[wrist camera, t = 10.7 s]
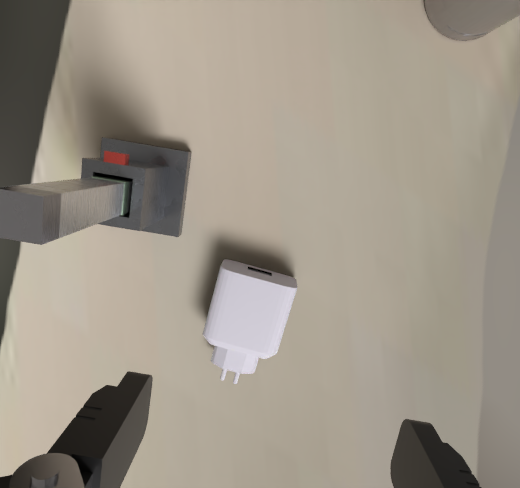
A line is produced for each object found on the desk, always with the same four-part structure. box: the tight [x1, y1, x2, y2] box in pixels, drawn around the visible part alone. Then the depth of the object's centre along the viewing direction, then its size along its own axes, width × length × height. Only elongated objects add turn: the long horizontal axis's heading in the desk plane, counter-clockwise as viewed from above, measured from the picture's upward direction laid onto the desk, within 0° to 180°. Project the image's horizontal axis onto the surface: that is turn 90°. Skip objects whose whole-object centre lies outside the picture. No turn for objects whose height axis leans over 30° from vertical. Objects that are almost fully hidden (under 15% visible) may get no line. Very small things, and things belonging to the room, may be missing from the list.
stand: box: [81, 137, 191, 237], centre depth 42 cm, size 10×10×10 cm
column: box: [0, 175, 133, 245], centre depth 32 cm, size 3×3×17 cm
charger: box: [203, 259, 297, 384], centre depth 48 cm, size 5×9×15 cm
